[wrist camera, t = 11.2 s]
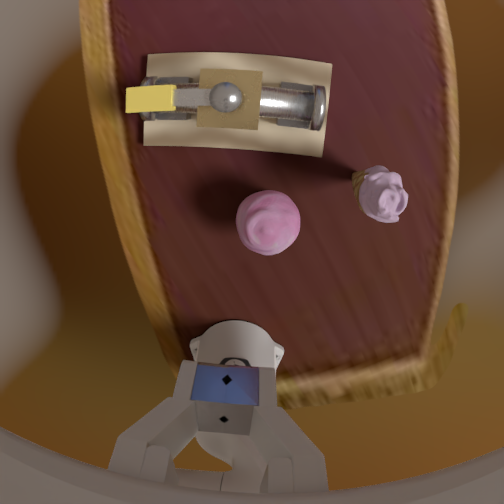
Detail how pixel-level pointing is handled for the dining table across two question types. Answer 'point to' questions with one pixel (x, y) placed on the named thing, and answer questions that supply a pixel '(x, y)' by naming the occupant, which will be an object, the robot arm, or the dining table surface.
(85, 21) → the dining table surface
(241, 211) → the cupcake
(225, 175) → the dining table surface
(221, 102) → the lever
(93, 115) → the dining table surface
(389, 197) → the ice cream cone
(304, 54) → the dining table surface
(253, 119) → the valve assembly
